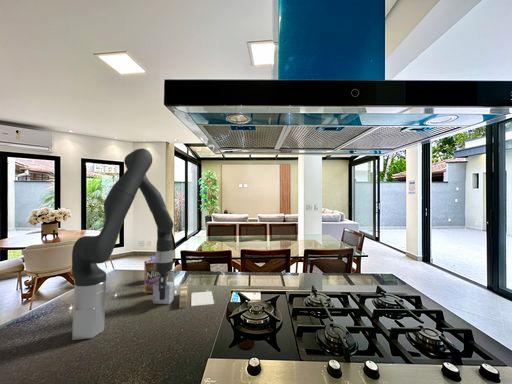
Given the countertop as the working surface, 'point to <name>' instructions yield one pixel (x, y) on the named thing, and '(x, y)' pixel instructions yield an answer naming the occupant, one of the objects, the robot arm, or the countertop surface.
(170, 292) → the medicine box
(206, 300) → the mat
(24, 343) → the countertop surface
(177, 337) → the countertop surface
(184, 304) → the ledge
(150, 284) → the candy box
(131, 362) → the countertop surface
